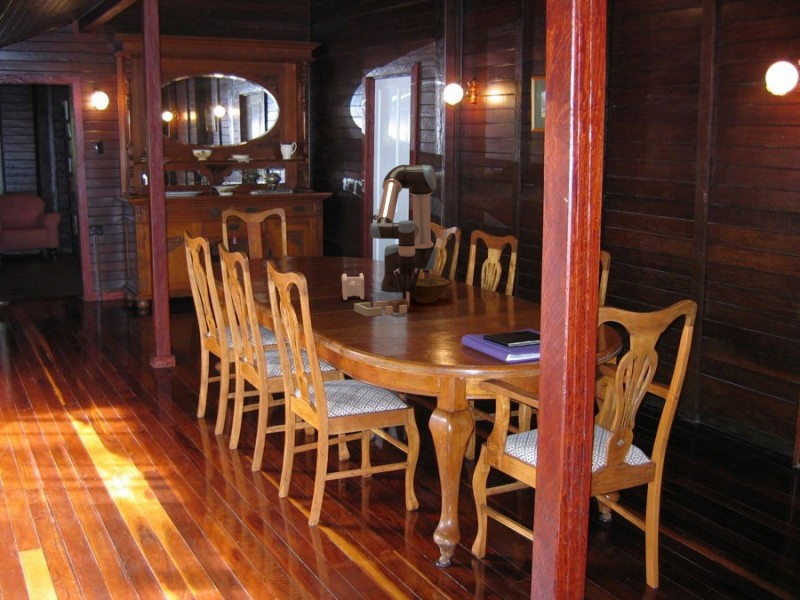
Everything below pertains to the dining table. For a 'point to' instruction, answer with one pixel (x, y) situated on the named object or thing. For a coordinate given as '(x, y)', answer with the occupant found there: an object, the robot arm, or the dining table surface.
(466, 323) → the dining table surface
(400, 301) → the block
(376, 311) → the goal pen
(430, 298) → the bowl
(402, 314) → the mat
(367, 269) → the dining table surface
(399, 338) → the dining table surface
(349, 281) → the cable organizer
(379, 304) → the channel
